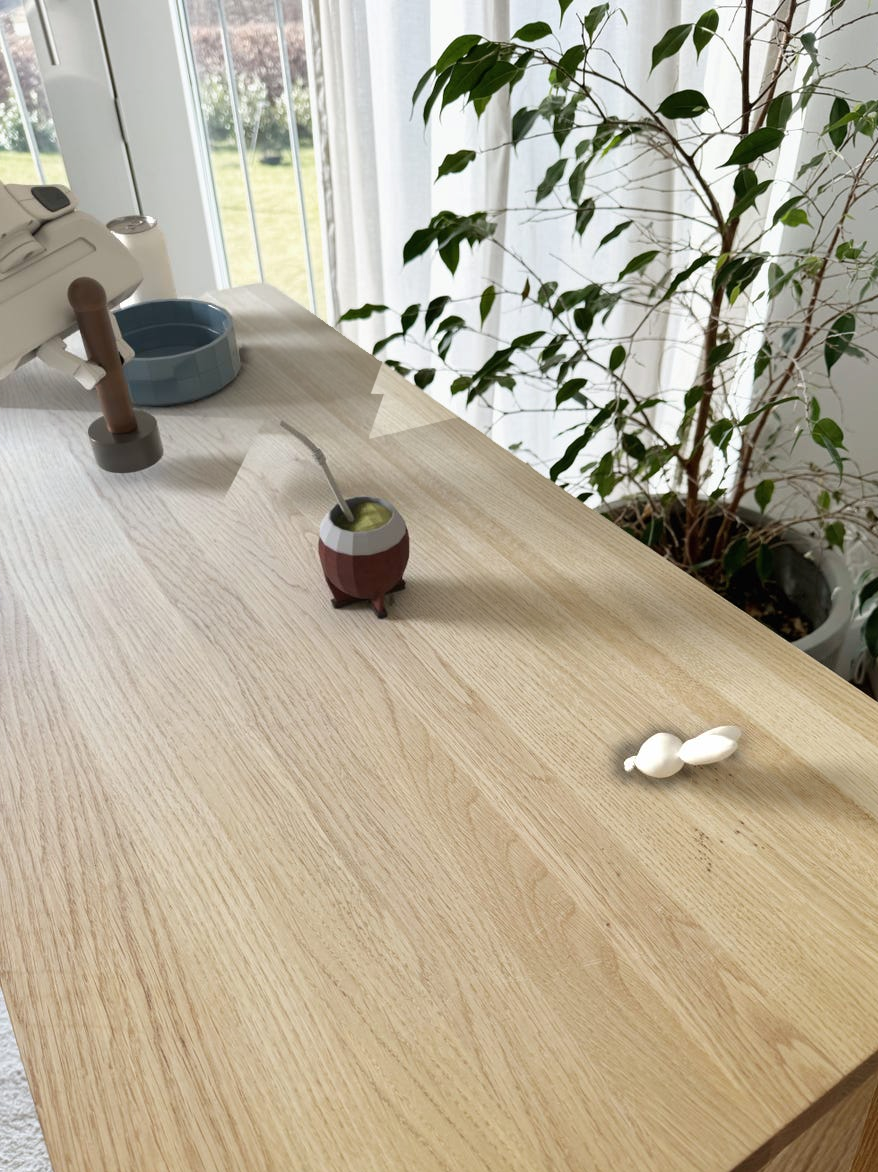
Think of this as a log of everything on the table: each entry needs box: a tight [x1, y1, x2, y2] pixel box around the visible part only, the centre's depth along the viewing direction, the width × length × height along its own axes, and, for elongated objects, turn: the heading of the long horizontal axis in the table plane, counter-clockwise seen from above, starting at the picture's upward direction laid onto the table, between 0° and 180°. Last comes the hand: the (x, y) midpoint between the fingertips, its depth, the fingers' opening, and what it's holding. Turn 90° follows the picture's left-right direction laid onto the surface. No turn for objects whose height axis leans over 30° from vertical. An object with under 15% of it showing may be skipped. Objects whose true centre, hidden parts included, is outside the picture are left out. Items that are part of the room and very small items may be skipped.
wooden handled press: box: [67, 277, 165, 474], centre depth 86 cm, size 6×6×16 cm
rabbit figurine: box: [623, 725, 743, 779], centre depth 66 cm, size 6×4×8 cm
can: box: [104, 214, 178, 308], centre depth 116 cm, size 6×6×12 cm
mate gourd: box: [279, 420, 410, 620], centre depth 77 cm, size 8×8×15 cm
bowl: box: [110, 298, 242, 407], centre depth 109 cm, size 15×15×6 cm
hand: (113, 372), depth 86 cm, fingers closed on wooden handled press, 2 cm apart
